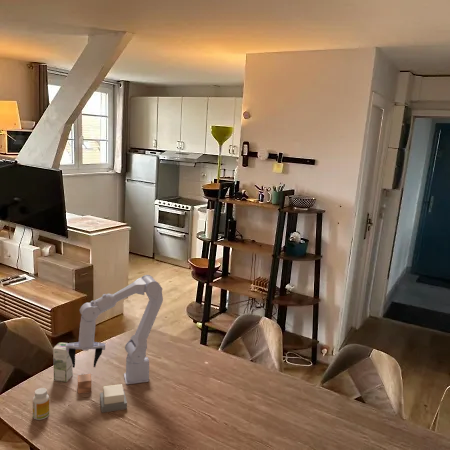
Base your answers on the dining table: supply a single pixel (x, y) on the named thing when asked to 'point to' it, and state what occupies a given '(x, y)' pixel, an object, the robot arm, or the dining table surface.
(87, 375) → the terracotta cube
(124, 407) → the bottom slab
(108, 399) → the top slab
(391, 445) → the dining table surface
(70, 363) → the syrup box
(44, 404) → the supplement bottle
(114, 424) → the dining table surface
